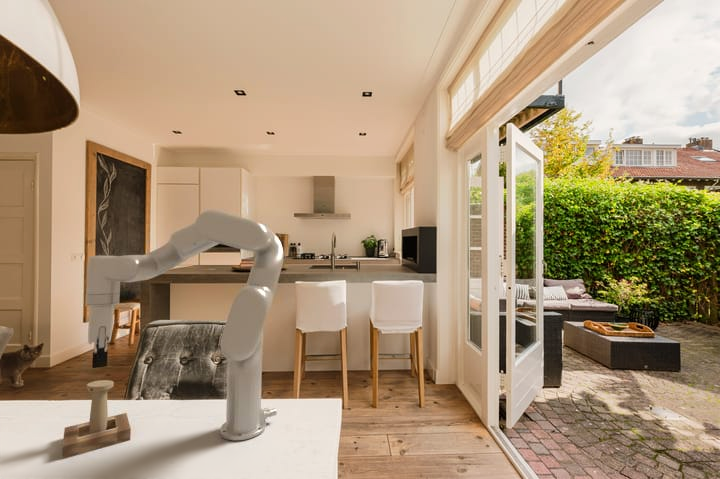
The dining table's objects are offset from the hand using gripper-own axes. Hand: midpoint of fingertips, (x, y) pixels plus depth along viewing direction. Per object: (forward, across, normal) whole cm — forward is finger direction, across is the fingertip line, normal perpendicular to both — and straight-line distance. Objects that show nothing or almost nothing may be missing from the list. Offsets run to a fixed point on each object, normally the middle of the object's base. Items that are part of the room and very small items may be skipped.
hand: (99, 366), depth 93 cm
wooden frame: (+20, 0, 0) cm, 20 cm away
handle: (+20, 0, 0) cm, 20 cm away
